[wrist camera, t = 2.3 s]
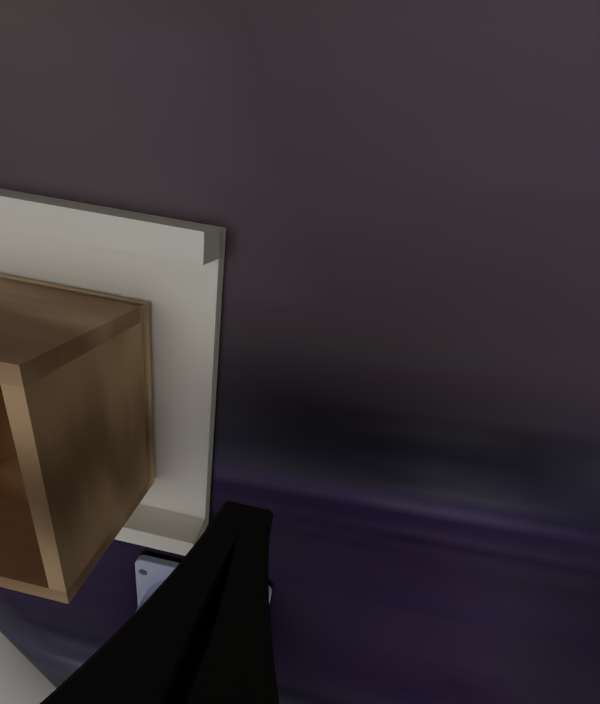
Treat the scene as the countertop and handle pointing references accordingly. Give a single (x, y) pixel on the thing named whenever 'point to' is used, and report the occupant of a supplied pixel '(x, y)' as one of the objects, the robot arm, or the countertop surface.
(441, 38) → the countertop surface
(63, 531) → the crate
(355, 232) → the countertop surface
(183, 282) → the tray
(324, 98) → the countertop surface
